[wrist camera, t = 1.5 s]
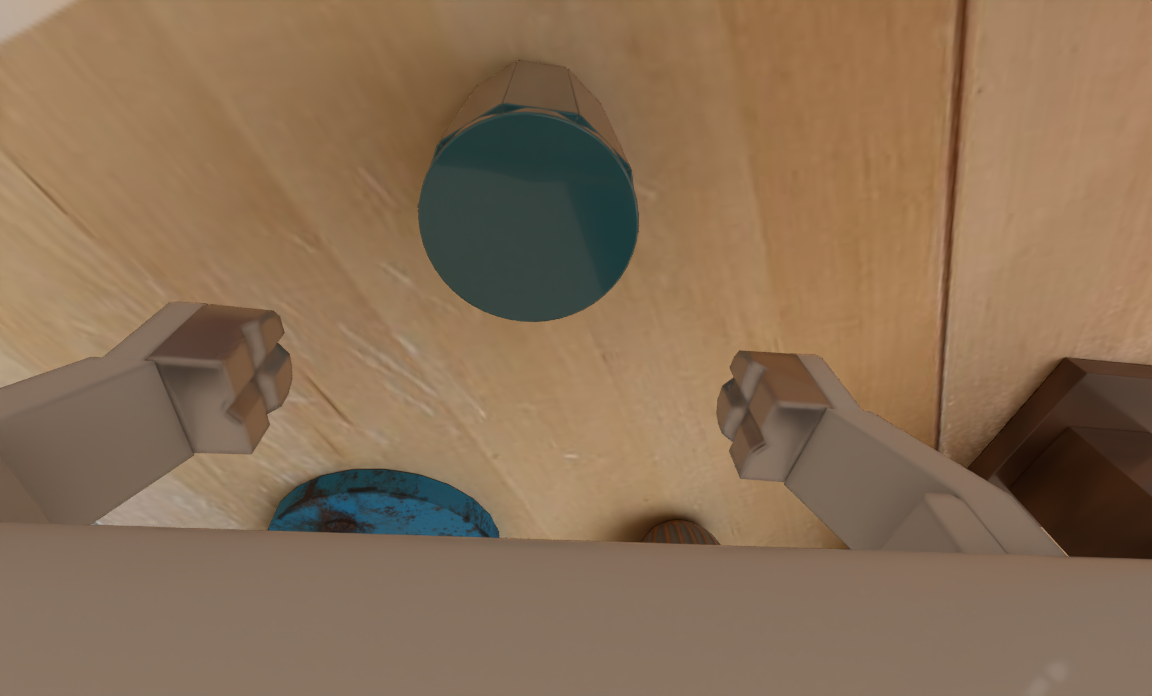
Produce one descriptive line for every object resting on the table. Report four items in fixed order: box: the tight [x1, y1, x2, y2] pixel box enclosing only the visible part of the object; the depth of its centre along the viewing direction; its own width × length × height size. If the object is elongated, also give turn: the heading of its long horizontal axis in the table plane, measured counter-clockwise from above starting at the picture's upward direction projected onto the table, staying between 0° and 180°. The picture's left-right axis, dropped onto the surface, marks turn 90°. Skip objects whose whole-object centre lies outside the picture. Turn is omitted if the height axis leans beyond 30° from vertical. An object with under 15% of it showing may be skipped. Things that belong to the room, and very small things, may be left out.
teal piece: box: [418, 60, 639, 322], centre depth 18 cm, size 6×6×9 cm
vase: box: [641, 520, 720, 545], centre depth 35 cm, size 7×7×9 cm
